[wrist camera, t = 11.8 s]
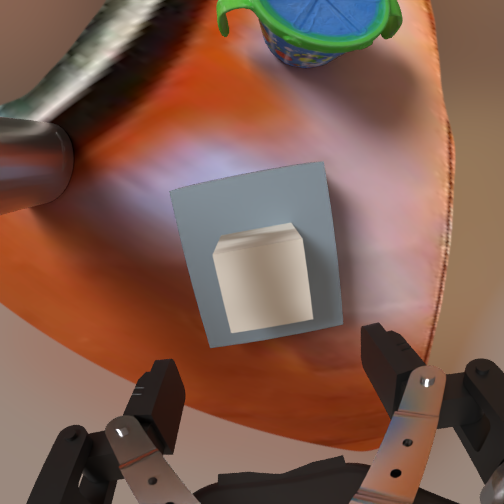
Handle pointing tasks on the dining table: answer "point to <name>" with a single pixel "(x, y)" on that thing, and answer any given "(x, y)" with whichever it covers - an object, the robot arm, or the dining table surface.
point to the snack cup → (317, 26)
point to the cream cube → (263, 277)
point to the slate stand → (253, 217)
